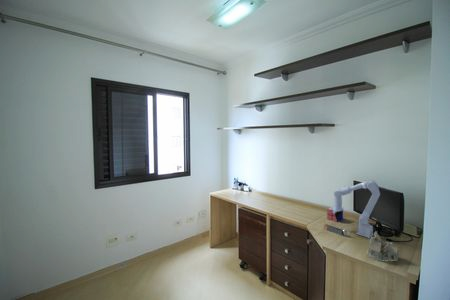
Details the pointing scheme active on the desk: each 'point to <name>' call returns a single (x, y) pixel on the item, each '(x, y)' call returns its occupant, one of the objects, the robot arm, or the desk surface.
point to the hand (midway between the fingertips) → (337, 219)
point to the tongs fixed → (335, 230)
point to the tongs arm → (333, 227)
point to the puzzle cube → (333, 215)
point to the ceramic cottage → (381, 249)
